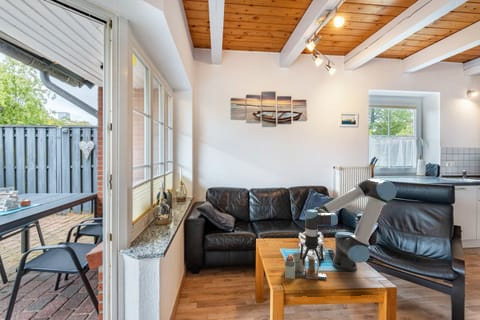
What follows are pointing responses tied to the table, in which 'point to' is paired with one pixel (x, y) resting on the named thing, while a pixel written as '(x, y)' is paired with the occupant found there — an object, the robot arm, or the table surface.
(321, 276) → the rail
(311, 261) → the carriage
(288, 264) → the cabinet
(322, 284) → the table surface
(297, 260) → the mug
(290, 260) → the plunger
